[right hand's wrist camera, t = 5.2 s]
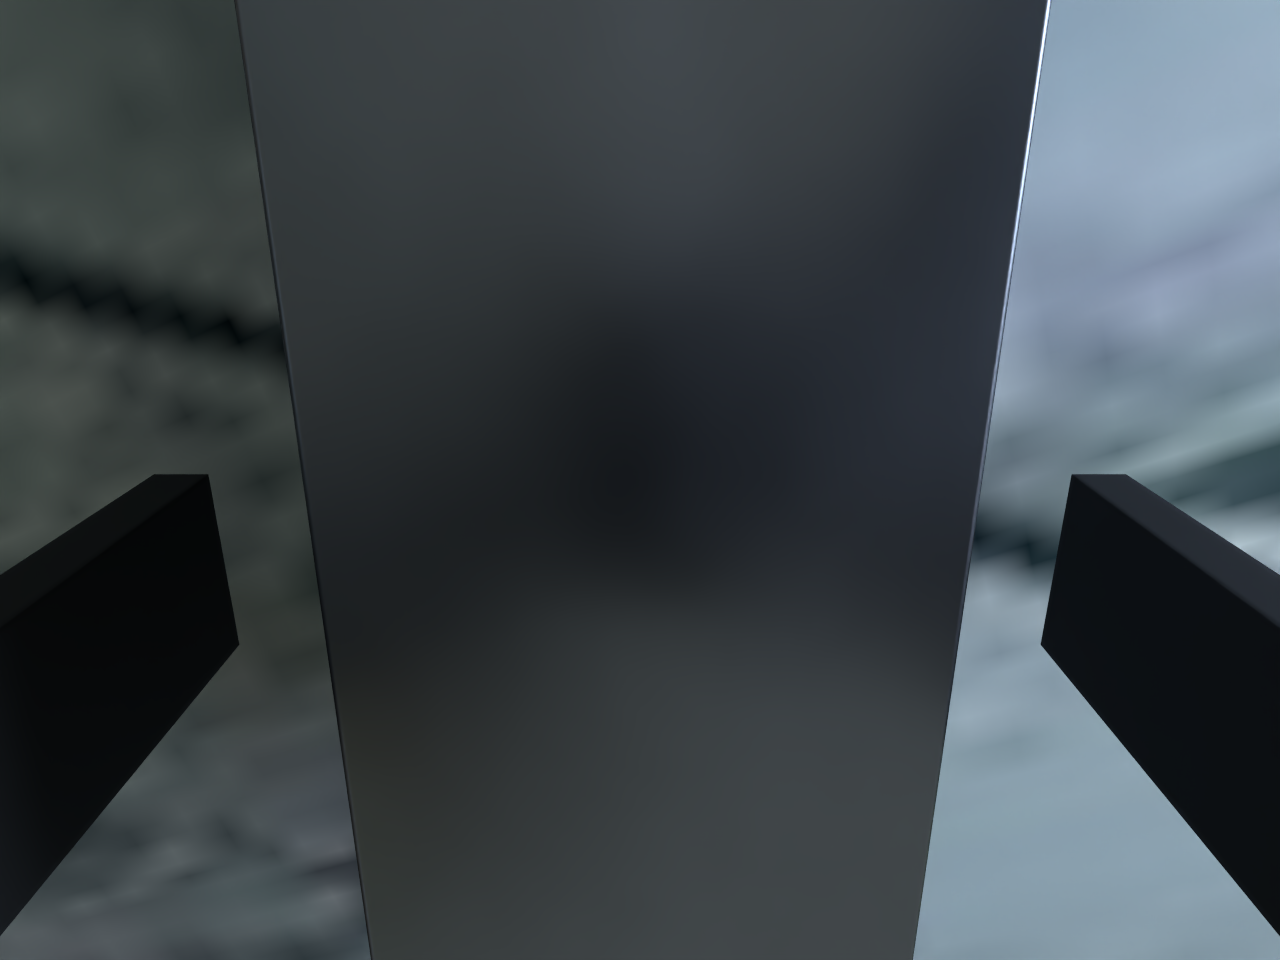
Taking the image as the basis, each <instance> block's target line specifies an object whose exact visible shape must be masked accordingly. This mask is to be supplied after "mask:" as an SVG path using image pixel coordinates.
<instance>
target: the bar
mask: <svg viewBox="0 0 1280 960" xmlns="http://www.w3.org/2000/svg"><path fill="white" fill-rule="evenodd" d="M234 1H235V8H236V15H237V22H238V29H239V36H240V43H241V50H242V57H243V64H244V71H245V78H246V85H247V92H248V99H249V106H250V113H251V120H252V127H253V134H254V141H255V148H256V155H257V162H258V169H259V176H260V183H261V190H262V198H263V205H264V212H265V219H266V226H267V233H268V240H269V247H270V254H271V261H272V268H273V275H274V282H275V289H276V296H277V303H278V310H279V317H280V324H281V331H282V338H283V345H284V352H285V359H286V366H287V373H288V380H289V387H290V394H291V401H292V408H293V415H294V422H295V429H296V436H297V443H298V450H299V457H300V464H301V471H302V478H303V485H304V492H305V499H306V506H307V513H308V520H309V527H310V534H311V541H312V548H313V555H314V562H315V569H316V576H317V583H318V590H319V597H320V604H321V611H322V618H323V625H324V632H325V639H326V646H327V653H328V660H329V667H330V674H331V681H332V688H333V695H334V702H335V709H336V716H337V723H338V730H339V737H340V744H341V751H342V758H343V766H344V773H345V780H346V787H347V794H348V801H349V808H350V815H351V822H352V829H353V836H354V843H355V850H356V857H357V864H358V871H359V878H360V885H361V892H362V899H363V906H364V913H365V920H366V927H367V934H368V941H369V948H370V955H371V960H913V954H914V948H915V941H916V934H917V927H918V920H919V913H920V906H921V899H922V892H923V885H924V878H925V871H926V865H927V858H928V851H929V844H930V837H931V830H932V823H933V816H934V809H935V802H936V795H937V788H938V782H939V775H940V768H941V761H942V754H943V747H944V740H945V733H946V726H947V719H948V712H949V706H950V699H951V692H952V685H953V678H954V671H955V664H956V657H957V650H958V643H959V636H960V629H961V623H962V616H963V609H964V602H965V595H966V588H967V581H968V574H969V567H970V560H971V553H972V546H973V540H974V533H975V526H976V519H977V512H978V505H979V498H980V491H981V484H982V477H983V470H984V463H985V457H986V450H987V443H988V436H989V429H990V422H991V415H992V408H993V401H994V394H995V387H996V380H997V374H998V367H999V360H1000V353H1001V346H1002V339H1003V332H1004V325H1005V318H1006V311H1007V304H1008V298H1009V291H1010V284H1011V277H1012V270H1013V263H1014V256H1015V249H1016V242H1017V235H1018V228H1019V221H1020V215H1021V208H1022V201H1023V194H1024V187H1025V180H1026V173H1027V166H1028V159H1029V152H1030V145H1031V138H1032V132H1033V125H1034V118H1035V111H1036V104H1037V97H1038V90H1039V83H1040V76H1041V69H1042V62H1043V55H1044V49H1045V42H1046V35H1047V28H1048V21H1049V14H1050V7H1051V0H234Z"/></svg>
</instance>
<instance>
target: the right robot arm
mask: <svg viewBox="0 0 1280 960" xmlns="http://www.w3.org/2000/svg"><path fill="white" fill-rule="evenodd" d="M238 646H239V640H238V635H237V629H236V624H235V618H234V613H233V608H232V602H231V597H230V591H229V586H228V580H227V575H226V569H225V564H224V558H223V553H222V547H221V542H220V536H219V531H218V525H217V520H216V514H215V509H214V503H213V498H212V492H211V487H210V481H209V476H208V474H154V475H152V476H151V477H149V478H148V479H146V480H145V481H143V482H142V483H140V484H139V485H137V486H136V487H134V488H133V489H131V490H130V491H128V492H126V493H125V494H123V495H122V496H120V497H119V498H117V499H116V500H114V501H113V502H111V503H110V504H108V505H107V506H105V507H104V508H102V509H100V510H99V511H97V512H96V513H94V514H93V515H91V516H90V517H88V518H87V519H85V520H84V521H82V522H81V523H79V524H78V525H76V526H75V527H73V528H71V529H70V530H68V531H67V532H65V533H64V534H62V535H61V536H59V537H58V538H56V539H55V540H53V541H52V542H50V543H49V544H47V545H46V546H44V547H42V548H41V549H39V550H38V551H36V552H35V553H33V554H32V555H30V556H29V557H27V558H26V559H24V560H23V561H21V562H20V563H18V564H16V565H15V566H13V567H12V568H10V569H9V570H7V571H6V572H4V573H3V574H1V575H0V936H1V934H2V933H3V932H4V931H5V929H6V928H7V927H8V926H9V925H10V923H11V922H12V921H13V920H14V919H15V917H16V916H17V915H18V914H19V912H20V911H21V910H22V909H23V908H24V906H25V905H26V904H27V903H28V901H29V900H30V899H31V898H32V897H33V895H34V894H35V893H36V892H37V890H38V889H39V888H40V887H41V886H42V884H43V883H44V882H45V881H46V880H47V878H48V877H49V876H50V875H51V873H52V872H53V871H54V870H55V869H56V867H57V866H58V865H59V864H60V862H61V861H62V860H63V859H64V858H65V856H66V855H67V854H68V853H69V851H70V850H71V849H72V848H73V847H74V845H75V844H76V843H77V842H78V841H79V839H80V838H81V837H82V836H83V834H84V833H85V832H86V831H87V830H88V828H89V827H90V826H91V825H92V823H93V822H94V821H95V820H96V819H97V817H98V816H99V815H100V814H101V812H102V811H103V810H104V809H105V808H106V806H107V805H108V804H109V803H110V802H111V800H112V799H113V798H114V797H115V795H116V794H117V793H118V792H119V791H120V789H121V788H122V787H123V786H124V784H125V783H126V782H127V781H128V780H129V778H130V777H131V776H132V775H133V773H134V772H135V771H136V770H137V769H138V767H139V766H140V765H141V764H142V763H143V761H144V760H145V759H146V758H147V756H148V755H149V754H150V753H151V752H152V750H153V749H154V748H155V747H156V745H157V744H158V743H159V742H160V741H161V739H162V738H163V737H164V736H165V734H166V733H167V732H168V731H169V730H170V728H171V727H172V726H173V725H174V724H175V722H176V721H177V720H178V719H179V717H180V716H181V715H182V714H183V713H184V711H185V710H186V709H187V708H188V706H189V705H190V704H191V703H192V702H193V700H194V699H195V698H196V697H197V696H198V694H199V693H200V692H201V691H202V689H203V688H204V687H205V686H206V685H207V683H208V682H209V681H210V680H211V678H212V677H213V676H214V675H215V674H216V672H217V671H218V670H219V669H220V667H221V666H222V665H223V664H224V663H225V661H226V660H227V659H228V658H229V657H230V655H231V654H232V653H233V652H234V650H235V649H236V648H237V647H238ZM1041 646H1042V647H1043V648H1044V649H1045V650H1046V652H1047V653H1048V654H1049V655H1050V657H1051V658H1052V659H1053V660H1054V661H1055V663H1056V664H1057V665H1058V666H1059V668H1060V669H1061V670H1062V671H1063V672H1064V674H1065V675H1066V676H1067V677H1068V678H1069V680H1070V681H1071V682H1072V683H1073V685H1074V686H1075V687H1076V688H1077V689H1078V691H1079V692H1080V693H1081V694H1082V696H1083V697H1084V698H1085V699H1086V700H1087V702H1088V703H1089V704H1090V705H1091V707H1092V708H1093V709H1094V710H1095V711H1096V713H1097V714H1098V715H1099V716H1100V717H1101V719H1102V720H1103V721H1104V722H1105V724H1106V725H1107V726H1108V727H1109V728H1110V730H1111V731H1112V732H1113V733H1114V735H1115V736H1116V737H1117V738H1118V739H1119V741H1120V742H1121V743H1122V744H1123V745H1124V747H1125V748H1126V749H1127V750H1128V752H1129V753H1130V754H1131V755H1132V756H1133V758H1134V759H1135V760H1136V761H1137V763H1138V764H1139V765H1140V766H1141V767H1142V769H1143V770H1144V771H1145V772H1146V774H1147V775H1148V776H1149V777H1150V778H1151V780H1152V781H1153V782H1154V783H1155V784H1156V786H1157V787H1158V788H1159V789H1160V791H1161V792H1162V793H1163V794H1164V795H1165V797H1166V798H1167V799H1168V800H1169V802H1170V803H1171V804H1172V805H1173V806H1174V808H1175V809H1176V810H1177V811H1178V813H1179V814H1180V815H1181V816H1182V817H1183V819H1184V820H1185V821H1186V822H1187V823H1188V825H1189V826H1190V827H1191V828H1192V830H1193V831H1194V832H1195V833H1196V834H1197V836H1198V837H1199V838H1200V839H1201V841H1202V842H1203V843H1204V844H1205V845H1206V847H1207V848H1208V849H1209V850H1210V852H1211V853H1212V854H1213V855H1214V856H1215V858H1216V859H1217V860H1218V861H1219V862H1220V864H1221V865H1222V866H1223V867H1224V869H1225V870H1226V871H1227V872H1228V873H1229V875H1230V876H1231V877H1232V878H1233V880H1234V881H1235V882H1236V883H1237V884H1238V886H1239V887H1240V888H1241V889H1242V891H1243V892H1244V893H1245V894H1246V895H1247V897H1248V898H1249V899H1250V900H1251V901H1252V903H1253V904H1254V905H1255V906H1256V908H1257V909H1258V910H1259V911H1260V912H1261V914H1262V915H1263V916H1264V917H1265V919H1266V920H1267V921H1268V922H1269V923H1270V925H1271V926H1272V927H1273V928H1274V930H1275V931H1276V932H1277V933H1278V934H1279V936H1280V575H1279V574H1277V573H1276V572H1274V571H1273V570H1271V569H1270V568H1268V567H1267V566H1265V565H1263V564H1262V563H1260V562H1259V561H1257V560H1256V559H1254V558H1253V557H1251V556H1250V555H1248V554H1247V553H1245V552H1244V551H1242V550H1241V549H1239V548H1238V547H1236V546H1234V545H1233V544H1231V543H1230V542H1228V541H1227V540H1225V539H1224V538H1222V537H1221V536H1219V535H1218V534H1216V533H1215V532H1213V531H1212V530H1210V529H1209V528H1207V527H1205V526H1204V525H1202V524H1201V523H1199V522H1198V521H1196V520H1195V519H1193V518H1192V517H1190V516H1189V515H1187V514H1186V513H1184V512H1183V511H1181V510H1179V509H1178V508H1176V507H1175V506H1173V505H1172V504H1170V503H1169V502H1167V501H1166V500H1164V499H1163V498H1161V497H1160V496H1158V495H1157V494H1155V493H1154V492H1152V491H1150V490H1149V489H1147V488H1146V487H1144V486H1143V485H1141V484H1140V483H1138V482H1137V481H1135V480H1134V479H1132V478H1131V477H1129V476H1128V475H1126V474H1072V476H1071V481H1070V487H1069V492H1068V498H1067V503H1066V509H1065V514H1064V520H1063V525H1062V531H1061V536H1060V542H1059V547H1058V553H1057V558H1056V564H1055V569H1054V574H1053V580H1052V585H1051V591H1050V596H1049V602H1048V607H1047V613H1046V618H1045V624H1044V629H1043V635H1042V640H1041Z"/></svg>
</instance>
